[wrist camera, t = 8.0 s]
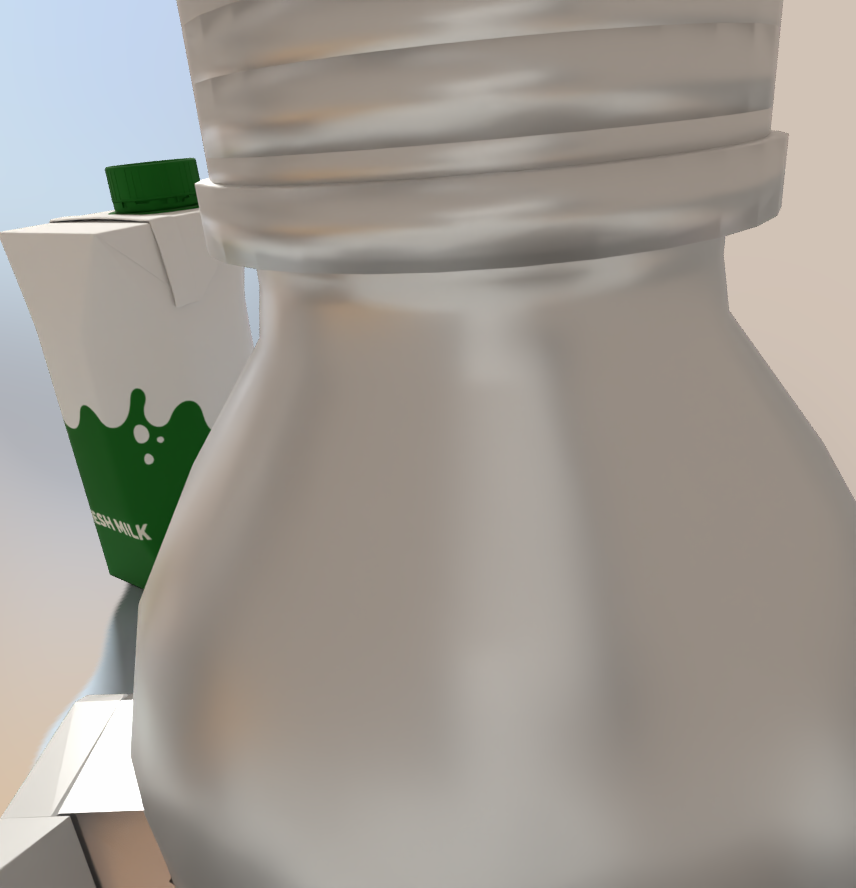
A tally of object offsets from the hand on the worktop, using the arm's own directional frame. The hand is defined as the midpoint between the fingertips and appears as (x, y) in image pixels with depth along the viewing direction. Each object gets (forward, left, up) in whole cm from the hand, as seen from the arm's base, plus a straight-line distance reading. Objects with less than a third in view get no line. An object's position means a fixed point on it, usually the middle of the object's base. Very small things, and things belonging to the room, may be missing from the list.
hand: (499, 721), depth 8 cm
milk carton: (-15, +29, -15) cm, 36 cm away
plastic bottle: (0, -1, -13) cm, 13 cm away
